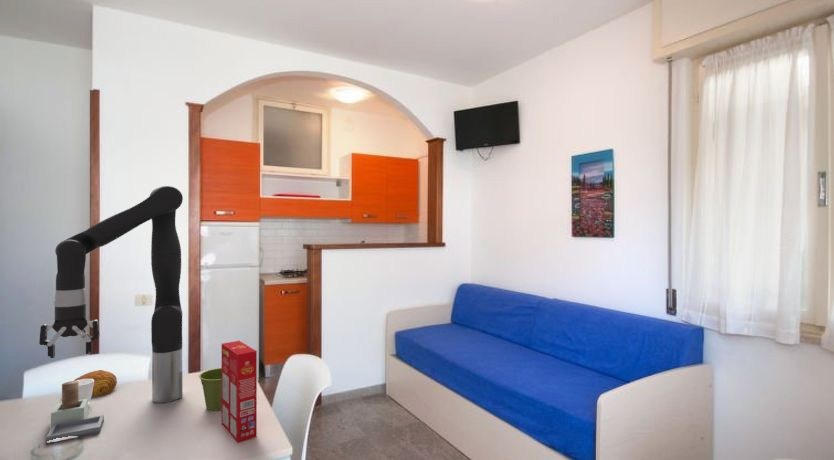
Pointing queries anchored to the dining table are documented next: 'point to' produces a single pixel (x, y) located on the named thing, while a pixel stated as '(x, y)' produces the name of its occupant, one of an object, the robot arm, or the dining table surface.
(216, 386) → the plant pot
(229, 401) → the food packaging
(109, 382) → the croissant
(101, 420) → the tray
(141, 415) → the dining table surface
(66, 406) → the wooden dowel
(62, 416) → the pot
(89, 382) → the cup
